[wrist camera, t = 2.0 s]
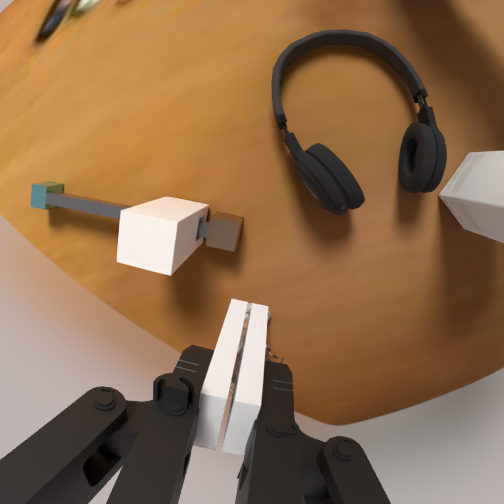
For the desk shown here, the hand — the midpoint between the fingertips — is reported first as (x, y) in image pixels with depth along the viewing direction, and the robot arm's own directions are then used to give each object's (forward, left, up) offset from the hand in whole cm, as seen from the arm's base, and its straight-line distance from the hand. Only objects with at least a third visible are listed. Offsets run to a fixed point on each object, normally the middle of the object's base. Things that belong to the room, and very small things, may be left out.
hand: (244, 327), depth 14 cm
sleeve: (0, -9, -20) cm, 22 cm away
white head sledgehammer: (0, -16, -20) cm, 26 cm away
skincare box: (-12, +24, -21) cm, 34 cm away
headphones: (-16, +7, -21) cm, 27 cm away
